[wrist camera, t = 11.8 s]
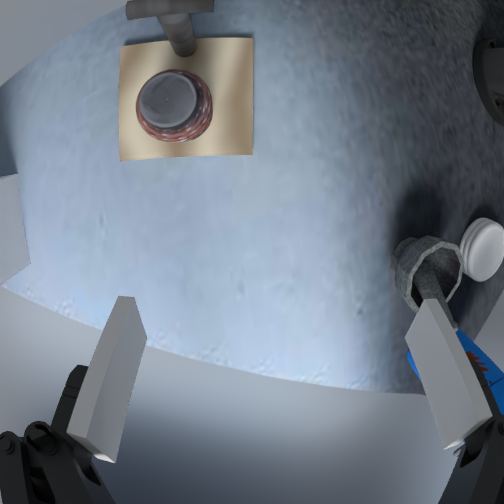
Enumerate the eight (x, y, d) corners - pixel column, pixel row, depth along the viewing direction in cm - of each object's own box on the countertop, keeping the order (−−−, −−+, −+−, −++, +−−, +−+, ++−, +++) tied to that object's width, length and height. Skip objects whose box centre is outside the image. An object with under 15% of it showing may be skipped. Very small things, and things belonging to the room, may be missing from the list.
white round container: (500, 228, 39) (513, 235, 36) (478, 279, 42) (490, 288, 39) (472, 207, 37) (487, 213, 34) (447, 265, 40) (461, 274, 37)
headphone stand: (252, 39, 27) (273, -14, 15) (251, 154, 31) (273, 164, 19) (123, 47, 25) (76, 5, 13) (122, 160, 30) (69, 176, 18)
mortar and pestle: (382, 228, 36) (438, 265, 25) (436, 220, 37) (495, 251, 26) (377, 304, 40) (420, 355, 29) (428, 290, 41) (475, 332, 30)
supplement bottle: (200, 150, 30) (191, 155, 19) (147, 132, 28) (111, 129, 18) (222, 97, 28) (225, 74, 17) (168, 79, 27) (144, 50, 16)
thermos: (396, 366, 46) (466, 474, 23) (424, 314, 43) (520, 419, 19) (435, 365, 48) (502, 455, 25) (461, 319, 45) (546, 404, 22)
